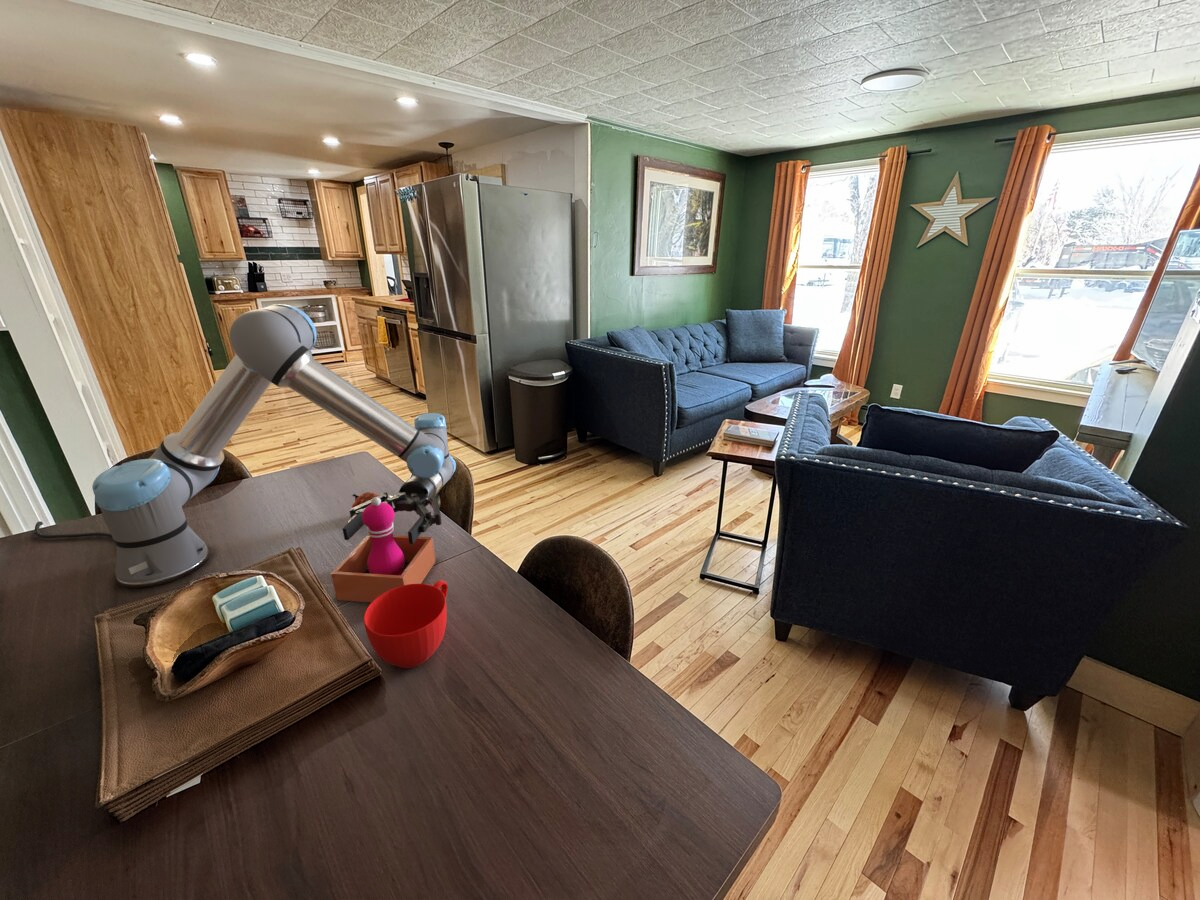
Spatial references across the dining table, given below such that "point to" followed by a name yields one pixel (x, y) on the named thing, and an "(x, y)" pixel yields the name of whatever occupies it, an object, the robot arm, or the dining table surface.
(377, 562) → the pepper mill
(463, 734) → the dining table surface
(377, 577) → the open wooden tray
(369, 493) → the pomegranate
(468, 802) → the dining table surface
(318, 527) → the dining table surface
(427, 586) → the ceramic cup
